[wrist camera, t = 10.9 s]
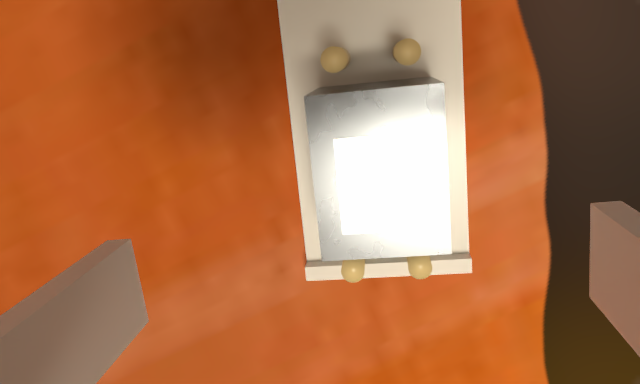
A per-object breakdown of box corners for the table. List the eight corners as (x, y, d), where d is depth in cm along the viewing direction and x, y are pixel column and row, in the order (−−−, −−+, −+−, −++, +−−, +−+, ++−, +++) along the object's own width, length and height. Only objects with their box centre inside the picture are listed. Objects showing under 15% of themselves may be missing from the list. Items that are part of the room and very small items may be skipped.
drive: (318, 87, 34) (303, 96, 27) (430, 76, 33) (444, 82, 26) (332, 222, 36) (321, 262, 29) (437, 215, 35) (451, 254, 28)
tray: (253, -232, 30) (227, -292, 25) (449, -267, 29) (464, -339, 24) (310, 269, 38) (298, 304, 33) (467, 261, 36) (482, 296, 31)
